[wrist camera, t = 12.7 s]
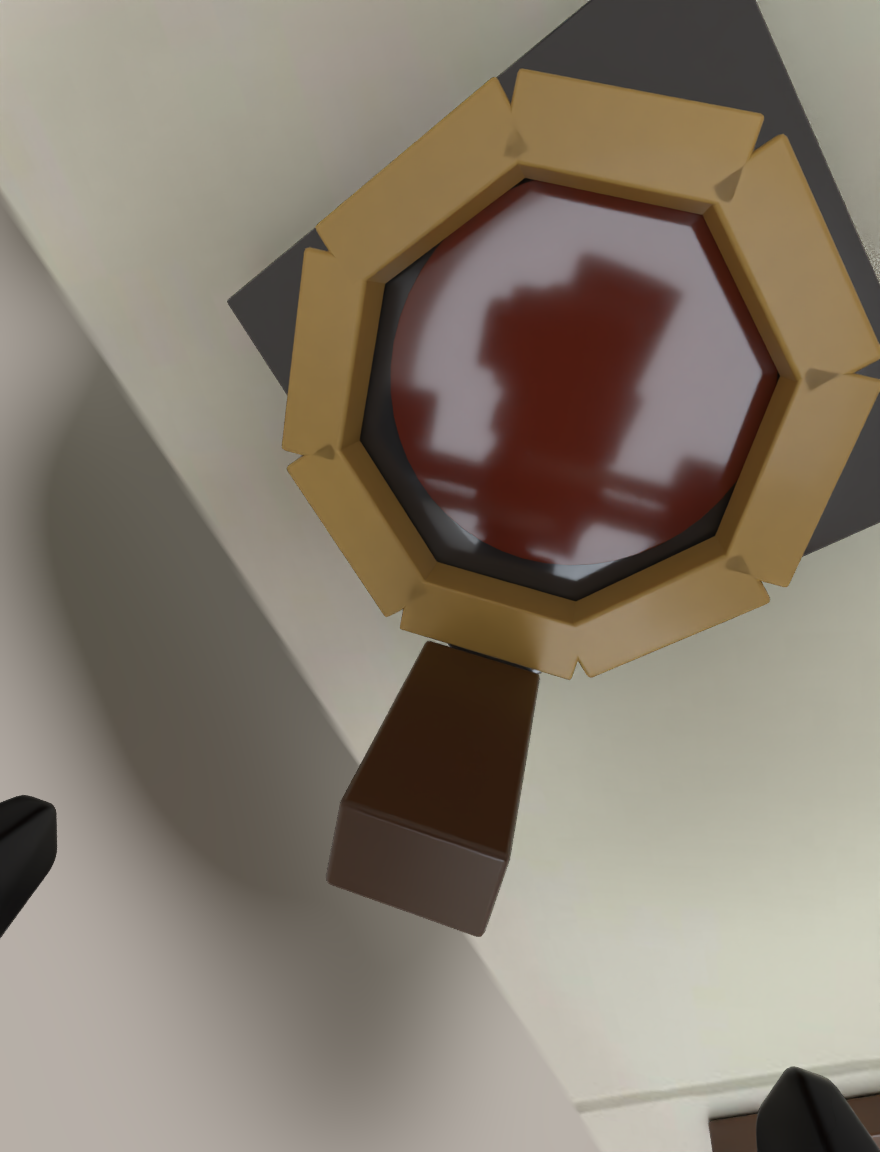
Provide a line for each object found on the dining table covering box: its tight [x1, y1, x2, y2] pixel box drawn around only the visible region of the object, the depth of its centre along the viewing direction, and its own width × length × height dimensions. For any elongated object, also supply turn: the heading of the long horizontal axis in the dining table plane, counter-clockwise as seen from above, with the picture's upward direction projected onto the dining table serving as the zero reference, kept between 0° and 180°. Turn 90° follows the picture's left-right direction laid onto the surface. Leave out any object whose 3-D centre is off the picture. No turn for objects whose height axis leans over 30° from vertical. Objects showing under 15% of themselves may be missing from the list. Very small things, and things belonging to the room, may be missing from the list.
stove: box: [227, 0, 880, 674], centre depth 13 cm, size 10×10×2 cm
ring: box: [282, 69, 880, 937], centre depth 10 cm, size 10×11×6 cm
